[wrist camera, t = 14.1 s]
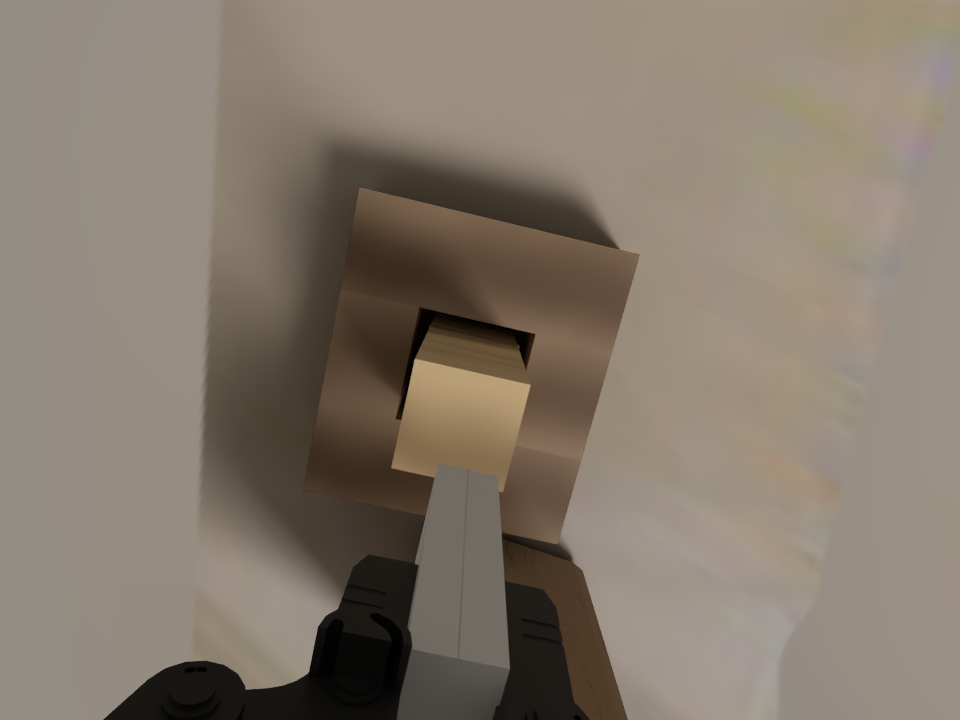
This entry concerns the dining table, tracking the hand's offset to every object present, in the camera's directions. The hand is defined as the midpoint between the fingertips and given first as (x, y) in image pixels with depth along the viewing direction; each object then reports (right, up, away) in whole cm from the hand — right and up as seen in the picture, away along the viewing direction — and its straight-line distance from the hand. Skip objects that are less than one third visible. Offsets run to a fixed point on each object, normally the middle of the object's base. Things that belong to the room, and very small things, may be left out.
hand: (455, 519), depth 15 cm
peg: (0, +4, +20) cm, 21 cm away
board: (0, +4, +20) cm, 21 cm away
